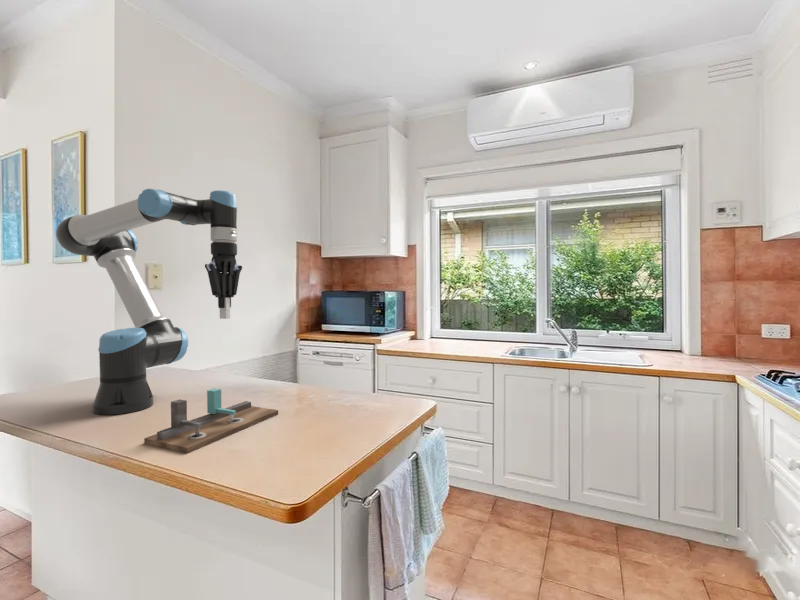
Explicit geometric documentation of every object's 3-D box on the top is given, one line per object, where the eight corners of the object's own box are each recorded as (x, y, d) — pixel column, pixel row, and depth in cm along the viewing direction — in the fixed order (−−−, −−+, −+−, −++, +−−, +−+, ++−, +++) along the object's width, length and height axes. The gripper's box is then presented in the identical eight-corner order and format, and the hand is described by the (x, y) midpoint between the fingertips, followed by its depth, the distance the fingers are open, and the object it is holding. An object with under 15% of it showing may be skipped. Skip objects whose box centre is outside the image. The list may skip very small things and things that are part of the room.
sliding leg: (207, 418, 110) (207, 390, 109) (214, 415, 112) (214, 388, 112) (231, 422, 106) (230, 393, 106) (238, 419, 109) (237, 391, 108)
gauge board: (144, 443, 97) (143, 405, 96) (240, 408, 124) (240, 379, 124) (187, 453, 91) (187, 413, 91) (278, 414, 119) (278, 383, 118)
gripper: (216, 239, 121) (217, 320, 122) (248, 243, 133) (249, 317, 134) (197, 240, 124) (198, 319, 125) (230, 244, 136) (231, 316, 137)
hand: (224, 318), depth 129 cm, fingers closed
